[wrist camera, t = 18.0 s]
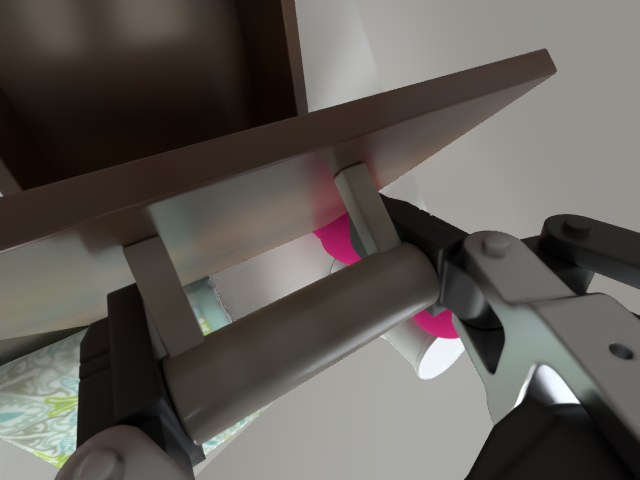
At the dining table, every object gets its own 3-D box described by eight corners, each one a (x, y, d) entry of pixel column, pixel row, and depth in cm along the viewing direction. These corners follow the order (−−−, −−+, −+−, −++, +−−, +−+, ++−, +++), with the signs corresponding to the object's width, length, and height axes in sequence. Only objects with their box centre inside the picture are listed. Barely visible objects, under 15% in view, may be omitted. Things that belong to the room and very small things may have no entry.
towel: (120, 472, 37) (123, 521, 33) (-37, 370, 24) (-59, 431, 20) (265, 380, 43) (282, 413, 39) (202, 258, 30) (218, 290, 26)
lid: (-639, 366, 3) (-443, 946, 2) (547, 45, 8) (631, 217, 8) (89, 312, 19) (121, 389, 19) (322, 217, 24) (349, 275, 24)
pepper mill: (291, 195, 32) (464, 334, 17) (352, 163, 34) (552, 264, 19) (310, 250, 36) (459, 397, 22) (362, 219, 38) (531, 335, 24)
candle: (334, 242, 38) (435, 329, 27) (379, 240, 42) (483, 314, 31) (321, 292, 40) (407, 389, 30) (364, 285, 44) (454, 369, 33)
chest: (-95, -38, 15) (-205, -79, 9) (230, -56, 21) (284, -88, 15) (90, 249, 25) (91, 314, 19) (278, 183, 30) (321, 219, 25)
